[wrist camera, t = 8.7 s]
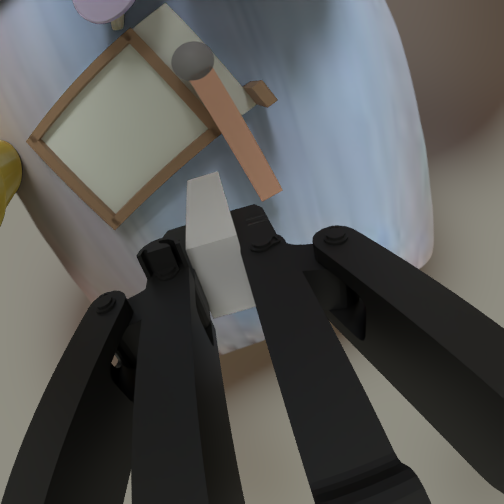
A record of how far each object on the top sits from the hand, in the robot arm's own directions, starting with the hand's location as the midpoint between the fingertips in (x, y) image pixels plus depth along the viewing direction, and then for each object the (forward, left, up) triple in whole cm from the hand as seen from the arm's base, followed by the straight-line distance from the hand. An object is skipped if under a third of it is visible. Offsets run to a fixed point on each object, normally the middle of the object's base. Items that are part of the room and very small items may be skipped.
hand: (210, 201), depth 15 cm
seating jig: (-6, -3, -15) cm, 17 cm away
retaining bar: (-1, +3, -12) cm, 13 cm away
